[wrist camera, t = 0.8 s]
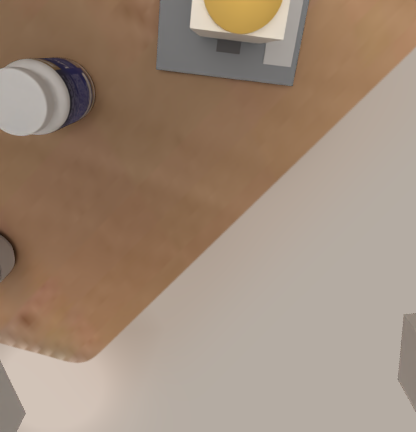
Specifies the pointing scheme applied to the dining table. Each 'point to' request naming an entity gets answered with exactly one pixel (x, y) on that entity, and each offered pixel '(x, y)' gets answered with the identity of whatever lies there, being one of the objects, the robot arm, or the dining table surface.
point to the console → (227, 48)
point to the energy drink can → (6, 258)
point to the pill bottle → (43, 95)
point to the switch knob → (240, 19)
